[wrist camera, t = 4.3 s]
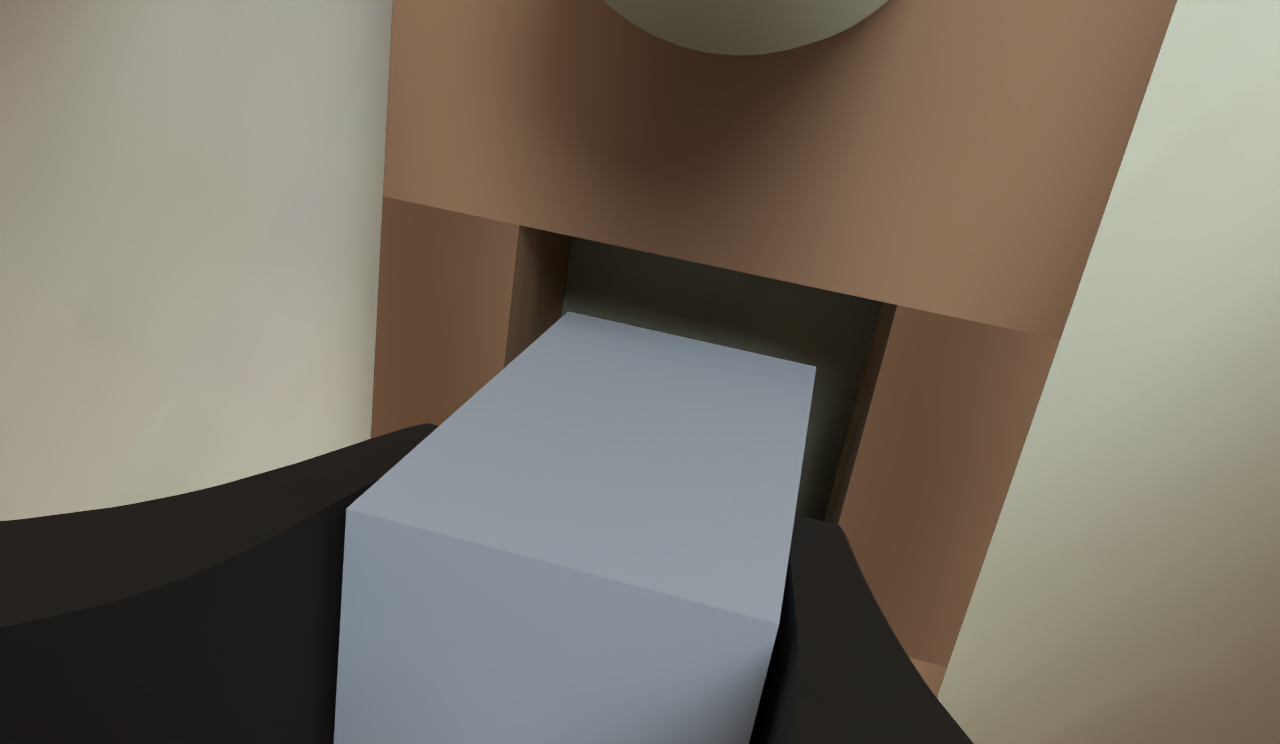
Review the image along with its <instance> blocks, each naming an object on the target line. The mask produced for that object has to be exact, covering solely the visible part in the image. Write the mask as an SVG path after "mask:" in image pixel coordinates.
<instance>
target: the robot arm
mask: <svg viewBox="0 0 1280 744" xmlns="http://www.w3.org/2000/svg"><path fill="white" fill-rule="evenodd" d="M438 427H439V426H437V425H433V424H429V423H425V424H420V425H415V426H411V427H408V428H404V429H401V430H397V431H394V432H391V433H388V434H384V435H381V436H378V437H375V438H372V439H369V440H366V441H363V442H360V443H357V444H354V445H351V446H348V447H345V448H342V449H339V450H336V451H333V452H330V453H327V454H324V455H321V456H318V457H315V458H312V459H308V460H305V461H302V462H299V463H296V464H293V465H289V466H286V467H282V468H279V469H275V470H272V471H268V472H265V473H261V474H258V475H254V476H251V477H247V478H244V479H240V480H237V481H233V482H230V483H226V484H223V485H219V486H215V487H211V488H207V489H203V490H198V491H194V492H189V493H185V494H181V495H176V496H171V497H166V498H161V499H156V500H151V501H145V502H140V503H135V504H130V505H124V506H118V507H112V508H105V509H97V510H89V511H82V512H74V513H66V514H59V515H51V516H44V517H36V518H28V519H20V520H10V521H0V744H334V729H335V710H336V692H337V673H338V654H339V636H340V617H341V599H342V580H343V562H344V543H345V524H346V508H348V507H349V506H350V505H351V504H352V503H353V502H354V501H355V500H357V499H358V498H359V497H360V496H361V495H362V494H363V493H364V492H366V491H367V490H368V489H369V488H370V487H371V486H372V485H373V484H375V483H376V482H377V481H378V480H379V479H380V478H381V477H382V476H384V475H385V474H386V473H387V472H388V471H389V470H390V469H391V468H393V467H394V466H395V465H396V464H397V463H398V462H399V461H400V460H402V459H403V458H404V457H405V456H406V455H407V454H408V453H409V452H411V451H412V450H413V449H414V448H415V447H416V446H417V445H418V444H420V443H421V442H422V441H423V440H424V439H425V438H426V437H427V436H429V435H430V434H431V433H432V432H433V431H434V430H435V429H436V428H438ZM749 744H973V742H972V741H971V740H970V739H969V738H968V736H967V735H966V734H965V733H964V731H963V730H962V729H961V728H960V726H959V725H958V724H957V723H956V721H955V720H954V719H953V718H952V717H951V715H950V714H949V713H948V712H947V710H946V709H945V708H944V707H943V705H942V704H941V703H940V702H939V700H938V699H937V698H936V696H935V695H934V694H933V692H932V691H931V689H930V688H929V687H928V685H927V684H926V683H925V681H924V680H923V678H922V677H921V675H920V674H919V672H918V671H917V669H916V668H915V666H914V665H913V663H912V661H911V660H910V658H909V657H908V655H907V654H906V652H905V650H904V649H903V647H902V645H901V644H900V642H899V640H898V639H897V637H896V635H895V634H894V632H893V630H892V628H891V626H890V625H889V623H888V621H887V619H886V617H885V616H884V614H883V612H882V610H881V608H880V607H879V605H878V603H877V601H876V599H875V597H874V595H873V593H872V591H871V589H870V587H869V585H868V583H867V581H866V579H865V577H864V575H863V573H862V571H861V569H860V566H859V564H858V562H857V560H856V558H855V555H854V553H853V551H852V548H851V546H850V543H849V541H848V538H847V536H846V534H845V533H844V531H843V530H842V528H841V526H840V525H836V524H832V523H828V522H824V521H820V520H816V519H812V518H808V517H804V516H800V515H796V514H795V518H794V525H793V532H792V539H791V546H790V553H789V560H788V566H787V573H786V580H785V587H784V594H783V601H782V608H781V615H780V622H779V627H778V631H777V635H776V638H775V642H774V646H773V650H772V654H771V658H770V662H769V666H768V670H767V674H766V678H765V682H764V686H763V690H762V694H761V698H760V702H759V706H758V710H757V713H756V717H755V721H754V725H753V729H752V733H751V737H750V741H749Z"/></svg>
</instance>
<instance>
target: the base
mask: <svg viewBox="0 0 1280 744" xmlns="http://www.w3.org/2000/svg"><path fill="white" fill-rule="evenodd" d="M1176 2H1177V0H393V7H392V27H391V47H390V67H389V87H388V107H387V127H386V147H385V167H384V187H383V207H382V227H381V247H380V267H379V287H378V307H377V327H376V347H375V367H374V387H373V407H372V427H371V439H372V438H375V437H378V436H381V435H384V434H388V433H391V432H394V431H397V430H401V429H404V428H408V427H411V426H415V425H420V424H425V423H429V424H433V425H437V426H440V425H441V424H442V423H443V422H444V421H445V420H447V419H448V418H449V417H450V416H451V415H452V414H453V413H454V412H456V411H457V410H458V409H459V408H460V407H461V406H462V405H463V404H465V403H466V402H467V401H468V400H469V399H470V398H471V397H472V396H474V395H475V394H476V393H477V392H478V391H479V390H480V389H481V388H483V387H484V386H485V385H486V384H487V383H488V382H489V381H490V380H492V379H493V378H494V377H495V376H496V375H497V374H498V373H499V372H501V371H502V370H503V369H504V368H505V367H506V366H507V365H508V364H510V363H511V362H512V361H513V360H514V359H515V358H516V357H517V356H519V355H520V354H521V353H522V352H523V351H524V350H525V349H526V348H528V347H529V346H530V345H531V344H532V343H533V342H534V341H535V340H537V339H538V338H539V337H540V336H541V335H542V334H543V333H544V332H546V331H547V330H548V329H549V328H550V327H551V326H552V325H553V324H555V323H556V322H557V321H558V320H559V319H560V318H561V312H562V305H563V297H564V289H565V281H566V274H567V266H568V258H569V250H570V242H571V236H573V237H578V238H583V239H587V240H592V241H597V242H602V243H606V244H611V245H616V246H621V247H625V248H630V249H635V250H639V251H644V252H649V253H654V254H658V255H663V256H668V257H673V258H677V259H682V260H687V261H691V262H696V263H701V264H706V265H710V266H715V267H720V268H725V269H729V270H734V271H739V272H744V273H748V274H753V275H758V276H762V277H767V278H772V279H777V280H781V281H786V282H791V283H796V284H800V285H805V286H810V287H815V288H819V289H824V290H829V291H833V292H838V293H843V294H848V295H852V296H857V297H862V298H867V299H871V300H876V301H881V304H880V308H879V312H878V315H877V319H876V323H875V327H874V331H873V334H872V338H871V342H870V346H869V350H868V353H867V357H866V361H865V365H864V369H863V372H862V376H861V380H860V384H859V388H858V391H857V395H856V399H855V403H854V407H853V410H852V414H851V418H850V422H849V426H848V429H847V433H846V437H845V441H844V445H843V448H842V452H841V456H840V460H839V464H838V467H837V471H836V475H835V479H834V483H833V486H832V490H831V494H830V498H829V501H828V505H827V509H826V513H825V517H824V520H823V521H824V522H828V523H832V524H836V525H840V526H841V528H842V530H843V531H844V533H845V534H846V536H847V538H848V541H849V543H850V546H851V548H852V551H853V553H854V555H855V558H856V560H857V562H858V564H859V566H860V569H861V571H862V573H863V575H864V577H865V579H866V581H867V583H868V585H869V587H870V589H871V591H872V593H873V595H874V597H875V599H876V601H877V603H878V605H879V607H880V608H881V610H882V612H883V614H884V616H885V617H886V619H887V621H888V623H889V625H890V626H891V628H892V630H893V632H894V634H895V635H896V637H897V639H898V640H899V642H900V644H901V645H902V647H903V649H904V650H905V652H906V654H907V655H908V657H909V658H910V660H911V661H912V663H913V665H914V666H915V668H916V669H917V671H918V672H919V674H920V675H921V677H922V678H923V680H924V681H925V683H926V684H927V685H928V687H929V688H930V689H931V691H932V692H933V694H934V695H935V696H936V698H937V695H938V692H939V689H940V686H941V684H942V681H943V678H944V675H945V672H946V669H947V666H948V663H949V660H950V657H951V655H952V652H953V649H954V646H955V643H956V640H957V637H958V634H959V631H960V628H961V626H962V623H963V620H964V617H965V614H966V611H967V608H968V605H969V602H970V600H971V597H972V594H973V591H974V588H975V585H976V582H977V579H978V576H979V573H980V571H981V568H982V565H983V562H984V559H985V556H986V553H987V550H988V547H989V544H990V542H991V539H992V536H993V533H994V530H995V527H996V524H997V521H998V518H999V515H1000V513H1001V510H1002V507H1003V504H1004V501H1005V498H1006V495H1007V492H1008V489H1009V486H1010V484H1011V481H1012V478H1013V475H1014V472H1015V469H1016V466H1017V463H1018V460H1019V457H1020V455H1021V452H1022V449H1023V446H1024V443H1025V440H1026V437H1027V434H1028V431H1029V428H1030V426H1031V423H1032V420H1033V417H1034V414H1035V411H1036V408H1037V405H1038V402H1039V399H1040V397H1041V394H1042V391H1043V388H1044V385H1045V382H1046V379H1047V376H1048V373H1049V370H1050V368H1051V365H1052V362H1053V359H1054V356H1055V353H1056V350H1057V347H1058V344H1059V341H1060V339H1061V336H1062V333H1063V330H1064V327H1065V324H1066V321H1067V318H1068V315H1069V312H1070V310H1071V307H1072V304H1073V301H1074V298H1075V295H1076V292H1077V289H1078V286H1079V283H1080V281H1081V278H1082V275H1083V272H1084V269H1085V266H1086V263H1087V260H1088V257H1089V254H1090V252H1091V249H1092V246H1093V243H1094V240H1095V237H1096V234H1097V231H1098V228H1099V225H1100V223H1101V220H1102V217H1103V214H1104V211H1105V208H1106V205H1107V202H1108V199H1109V196H1110V194H1111V191H1112V188H1113V185H1114V182H1115V179H1116V176H1117V173H1118V170H1119V167H1120V165H1121V162H1122V159H1123V156H1124V153H1125V150H1126V147H1127V144H1128V141H1129V138H1130V136H1131V133H1132V130H1133V127H1134V124H1135V121H1136V118H1137V115H1138V112H1139V109H1140V107H1141V104H1142V101H1143V98H1144V95H1145V92H1146V89H1147V86H1148V83H1149V80H1150V78H1151V75H1152V72H1153V69H1154V66H1155V63H1156V60H1157V57H1158V54H1159V51H1160V49H1161V46H1162V43H1163V40H1164V37H1165V34H1166V31H1167V28H1168V25H1169V22H1170V20H1171V17H1172V14H1173V11H1174V8H1175V5H1176Z"/></svg>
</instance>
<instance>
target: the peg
mask: <svg viewBox="0 0 1280 744" xmlns="http://www.w3.org/2000/svg"><path fill="white" fill-rule="evenodd" d="M815 373H816V366H811V365H807V364H802V363H798V362H793V361H789V360H784V359H780V358H775V357H771V356H766V355H762V354H757V353H753V352H748V351H744V350H739V349H735V348H730V347H726V346H722V345H717V344H713V343H708V342H704V341H699V340H695V339H690V338H686V337H681V336H677V335H672V334H668V333H663V332H659V331H654V330H650V329H645V328H641V327H636V326H632V325H627V324H623V323H619V322H614V321H610V320H605V319H601V318H596V317H592V316H587V315H583V314H578V313H574V312H569V311H568V312H567V313H566V314H565V315H564V316H562V317H561V318H560V319H559V320H558V321H557V322H556V323H555V324H553V325H552V326H551V327H550V328H549V329H548V330H547V331H546V332H544V333H543V334H542V335H541V336H540V337H539V338H538V339H537V340H535V341H534V342H533V343H532V344H531V345H530V346H529V347H528V348H526V349H525V350H524V351H523V352H522V353H521V354H520V355H519V356H517V357H516V358H515V359H514V360H513V361H512V362H511V363H510V364H508V365H507V366H506V367H505V368H504V369H503V370H502V371H501V372H499V373H498V374H497V375H496V376H495V377H494V378H493V379H492V380H490V381H489V382H488V383H487V384H486V385H485V386H484V387H483V388H481V389H480V390H479V391H478V392H477V393H476V394H475V395H474V396H472V397H471V398H470V399H469V400H468V401H467V402H466V403H465V404H463V405H462V406H461V407H460V408H459V409H458V410H457V411H456V412H454V413H453V414H452V415H451V416H450V417H449V418H448V419H447V420H445V421H444V422H443V423H442V424H441V425H440V426H439V427H438V428H436V429H435V430H434V431H433V432H432V433H431V434H430V435H429V436H427V437H426V438H425V439H424V440H423V441H422V442H421V443H420V444H418V445H417V446H416V447H415V448H414V449H413V450H412V451H411V452H409V453H408V454H407V455H406V456H405V457H404V458H403V459H402V460H400V461H399V462H398V463H397V464H396V465H395V466H394V467H393V468H391V469H390V470H389V471H388V472H387V473H386V474H385V475H384V476H382V477H381V478H380V479H379V480H378V481H377V482H376V483H375V484H373V485H372V486H371V487H370V488H369V489H368V490H367V491H366V492H364V493H363V494H362V495H361V496H360V497H359V498H358V499H357V500H355V501H354V502H353V503H352V504H351V505H350V506H349V507H348V508H346V524H345V543H344V562H343V580H342V599H341V617H340V636H339V654H338V673H337V692H336V710H335V729H334V744H749V741H750V737H751V733H752V729H753V725H754V721H755V717H756V713H757V710H758V706H759V702H760V698H761V694H762V690H763V686H764V682H765V678H766V674H767V670H768V666H769V662H770V658H771V654H772V650H773V646H774V642H775V638H776V635H777V631H778V627H779V622H780V615H781V608H782V601H783V594H784V587H785V580H786V573H787V566H788V560H789V553H790V546H791V539H792V532H793V525H794V518H795V511H796V504H797V497H798V490H799V484H800V477H801V470H802V463H803V456H804V449H805V442H806V435H807V428H808V421H809V414H810V408H811V401H812V394H813V387H814V380H815Z"/></svg>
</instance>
